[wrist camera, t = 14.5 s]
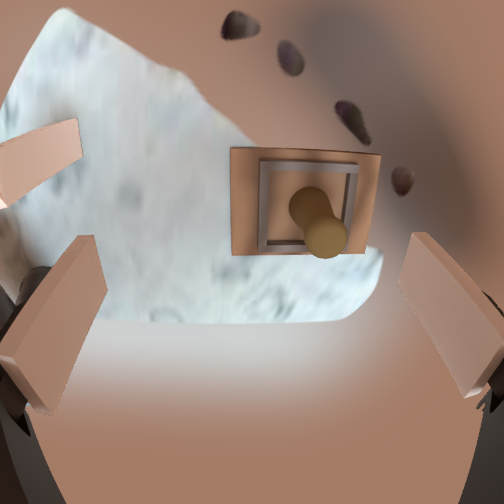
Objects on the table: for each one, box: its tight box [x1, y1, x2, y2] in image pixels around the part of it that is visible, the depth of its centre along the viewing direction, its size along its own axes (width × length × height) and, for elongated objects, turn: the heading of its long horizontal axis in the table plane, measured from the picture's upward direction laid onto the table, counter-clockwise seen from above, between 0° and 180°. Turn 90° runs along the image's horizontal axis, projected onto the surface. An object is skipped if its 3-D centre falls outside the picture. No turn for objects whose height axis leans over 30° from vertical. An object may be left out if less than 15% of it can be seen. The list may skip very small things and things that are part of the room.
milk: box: [0, 118, 83, 209], centre depth 29 cm, size 6×6×22 cm
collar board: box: [230, 148, 381, 256], centre depth 44 cm, size 21×16×2 cm
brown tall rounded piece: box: [289, 187, 348, 259], centre depth 40 cm, size 6×6×11 cm
